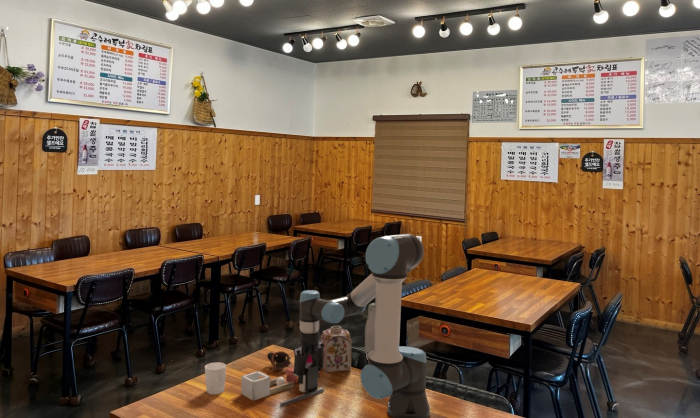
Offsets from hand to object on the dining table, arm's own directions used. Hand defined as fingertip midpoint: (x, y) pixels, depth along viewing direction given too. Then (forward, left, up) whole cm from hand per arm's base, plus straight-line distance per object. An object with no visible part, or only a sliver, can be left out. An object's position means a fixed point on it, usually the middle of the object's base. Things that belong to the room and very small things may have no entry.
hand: (308, 388), depth 204 cm
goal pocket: (+11, +17, -1) cm, 20 cm away
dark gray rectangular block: (+5, 0, -1) cm, 5 cm away
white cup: (+24, +27, -1) cm, 36 cm away
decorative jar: (+12, -25, -1) cm, 28 cm away
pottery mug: (+28, -6, -1) cm, 29 cm away
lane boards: (+11, +8, -1) cm, 14 cm away
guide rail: (-4, +6, -1) cm, 7 cm away
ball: (+11, +6, +1) cm, 12 cm away
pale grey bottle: (+2, -40, -1) cm, 40 cm away
